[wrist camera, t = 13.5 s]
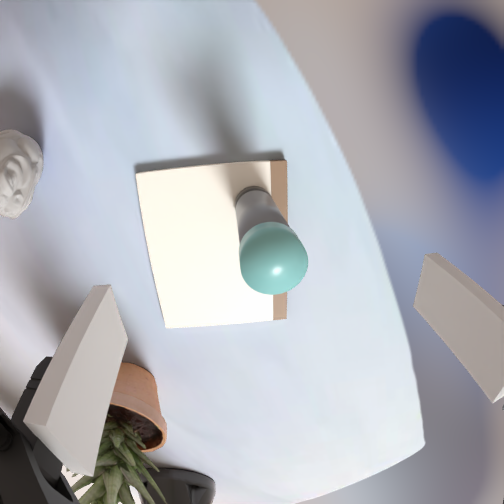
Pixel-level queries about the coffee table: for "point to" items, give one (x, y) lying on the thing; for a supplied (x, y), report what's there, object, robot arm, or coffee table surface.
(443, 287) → the robot arm
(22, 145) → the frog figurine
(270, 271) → the marker
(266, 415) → the coffee table surface
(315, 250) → the coffee table surface
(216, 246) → the notepad
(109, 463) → the potted plant
